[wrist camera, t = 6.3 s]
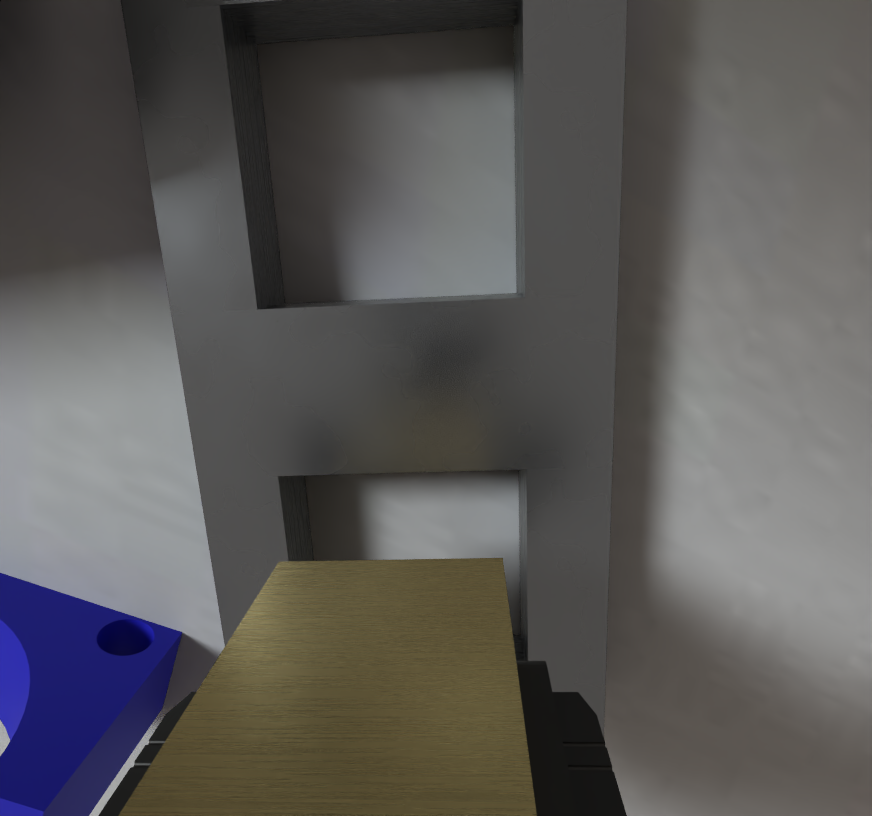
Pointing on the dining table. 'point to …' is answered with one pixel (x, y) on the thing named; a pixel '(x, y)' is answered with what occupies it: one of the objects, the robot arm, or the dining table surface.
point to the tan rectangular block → (356, 700)
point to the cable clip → (73, 696)
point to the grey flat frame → (396, 307)
